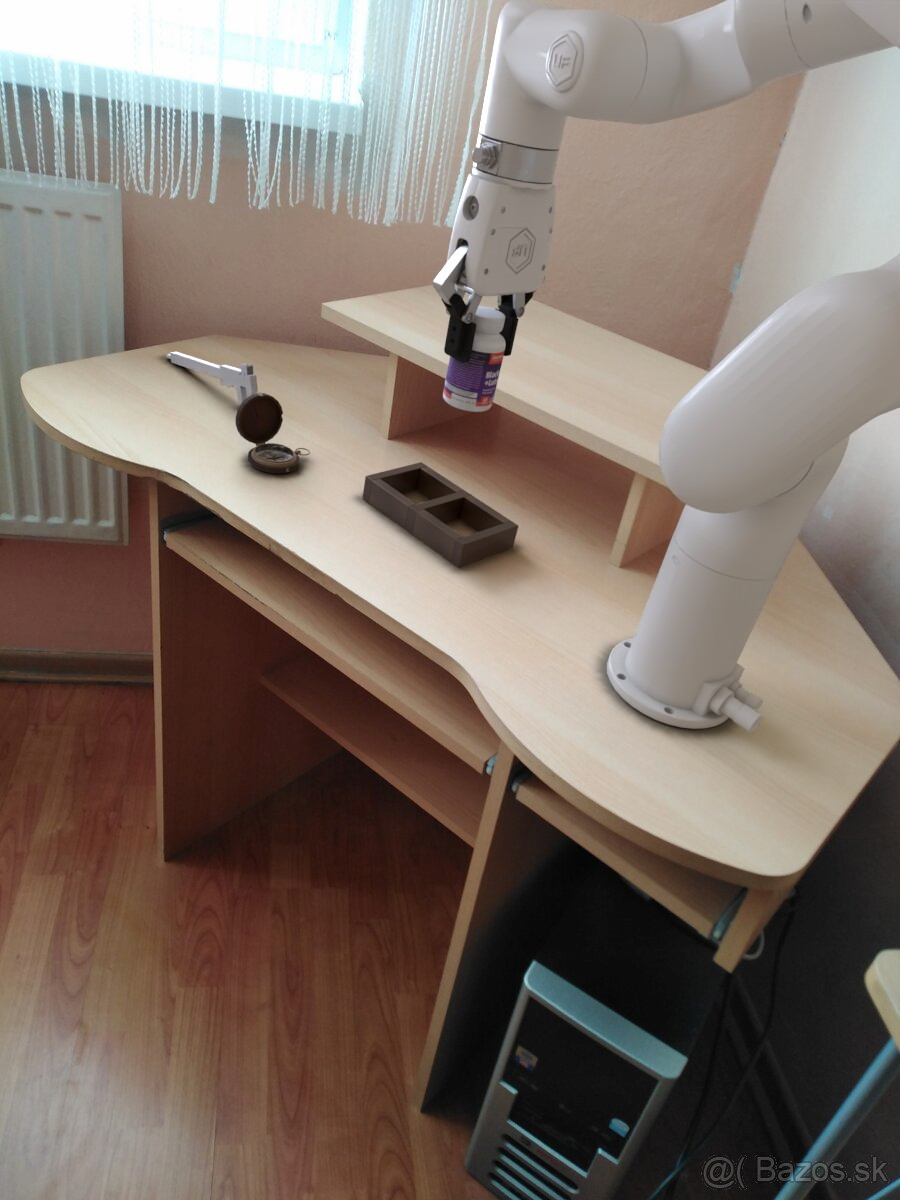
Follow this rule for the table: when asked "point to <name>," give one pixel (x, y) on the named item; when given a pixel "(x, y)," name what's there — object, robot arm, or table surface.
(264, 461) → the compass
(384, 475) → the tray
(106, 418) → the table surface
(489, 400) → the pill bottle
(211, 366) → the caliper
